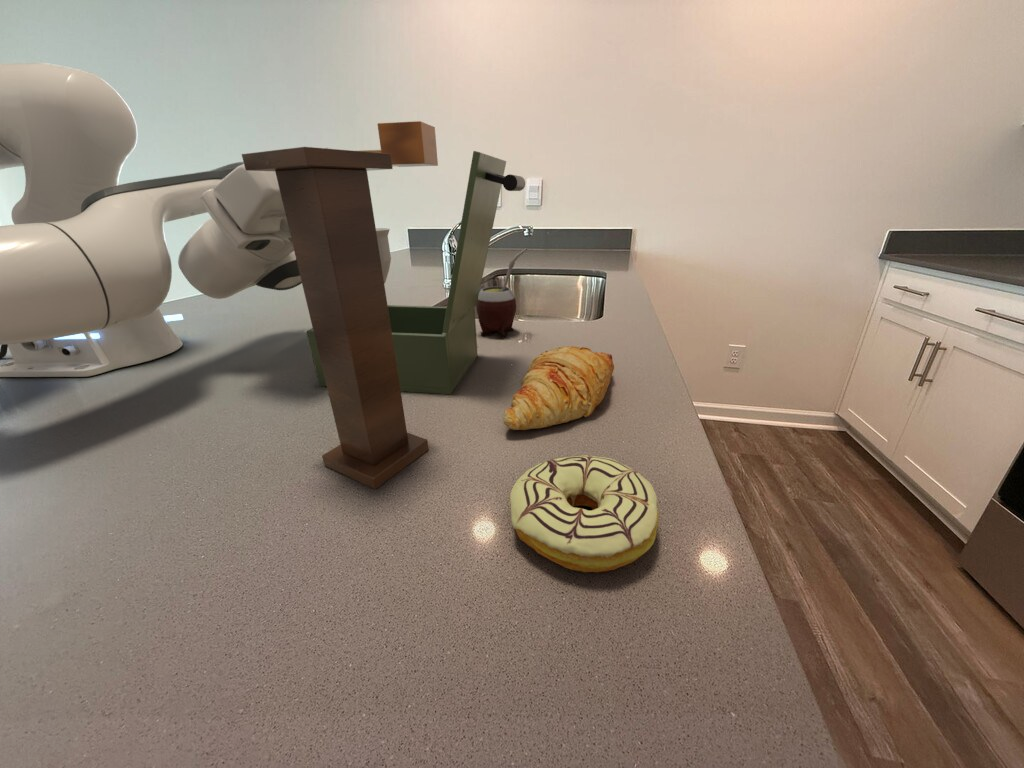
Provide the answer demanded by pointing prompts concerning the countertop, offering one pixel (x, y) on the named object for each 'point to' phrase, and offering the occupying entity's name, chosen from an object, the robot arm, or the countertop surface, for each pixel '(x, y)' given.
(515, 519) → the decorated donut
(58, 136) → the robot arm
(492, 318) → the mate gourd
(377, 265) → the pedestal stand
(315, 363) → the bin
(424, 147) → the brown piece
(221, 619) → the countertop surface
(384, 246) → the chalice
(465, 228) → the bin lid
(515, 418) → the croissant
